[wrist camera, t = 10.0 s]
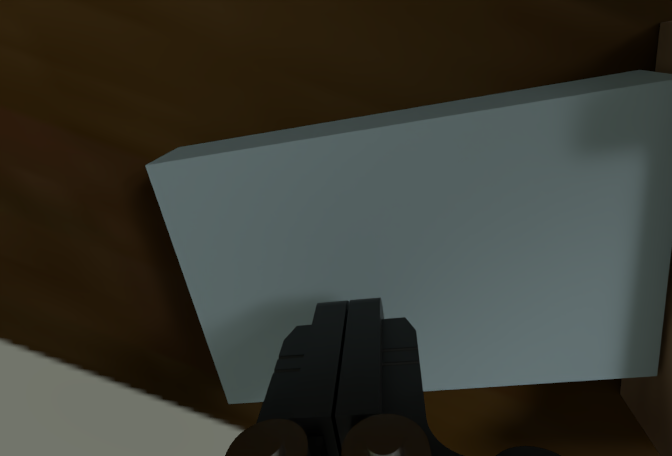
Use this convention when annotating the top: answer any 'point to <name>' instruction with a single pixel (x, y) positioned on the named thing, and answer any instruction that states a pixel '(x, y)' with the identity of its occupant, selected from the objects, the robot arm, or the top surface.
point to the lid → (441, 232)
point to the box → (668, 386)
